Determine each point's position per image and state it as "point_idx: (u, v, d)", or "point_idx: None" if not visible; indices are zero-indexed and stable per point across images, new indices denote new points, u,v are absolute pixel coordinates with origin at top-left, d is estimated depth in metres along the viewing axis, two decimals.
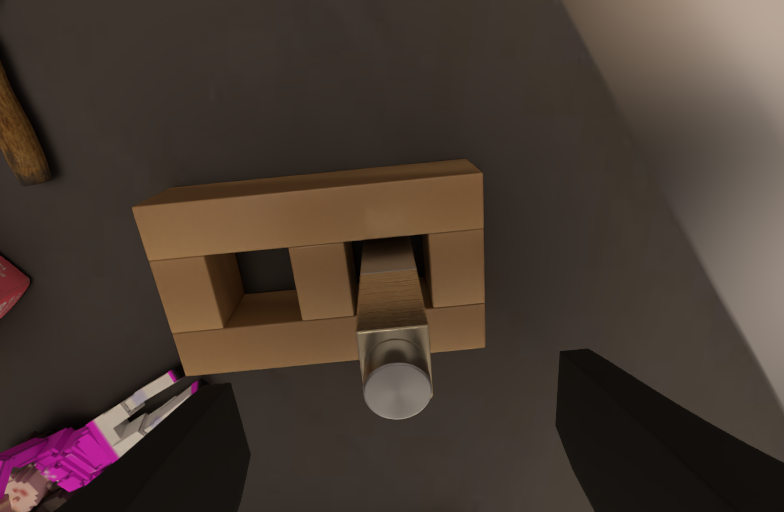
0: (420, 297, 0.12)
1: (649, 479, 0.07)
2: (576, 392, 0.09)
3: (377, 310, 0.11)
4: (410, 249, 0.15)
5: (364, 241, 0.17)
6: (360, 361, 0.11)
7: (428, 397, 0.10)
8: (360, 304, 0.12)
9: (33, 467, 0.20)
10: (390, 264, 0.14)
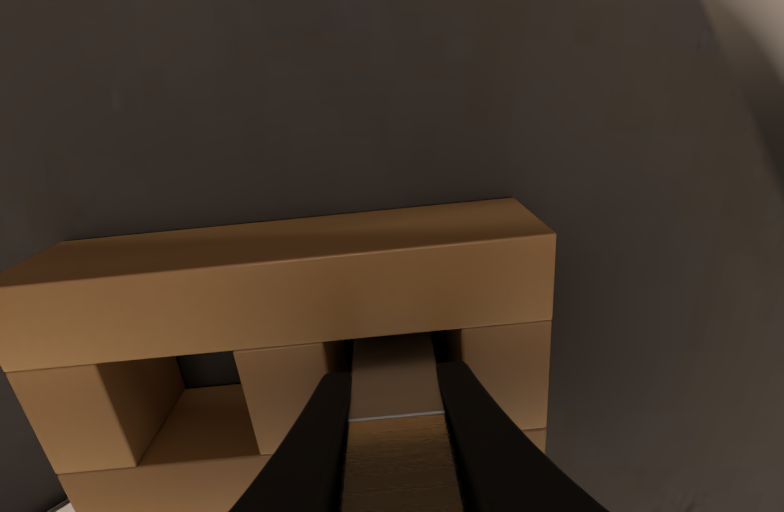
0: None
1: (472, 496, 0.07)
2: None
3: None
4: (431, 356, 0.09)
5: None
6: None
7: None
8: None
9: None
10: (399, 396, 0.08)
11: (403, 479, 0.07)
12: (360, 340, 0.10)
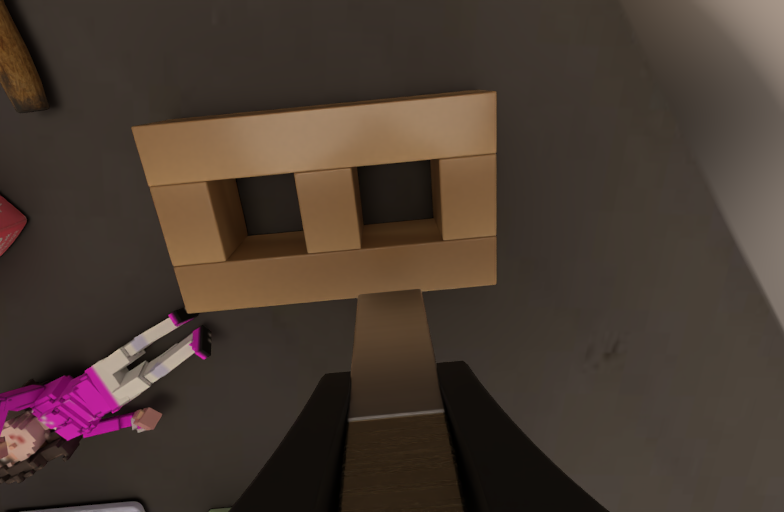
0: None
1: (472, 496, 0.07)
2: None
3: None
4: (431, 355, 0.09)
5: (356, 330, 0.11)
6: None
7: None
8: None
9: (30, 415, 0.20)
10: (399, 395, 0.08)
11: (403, 478, 0.07)
12: (360, 339, 0.10)
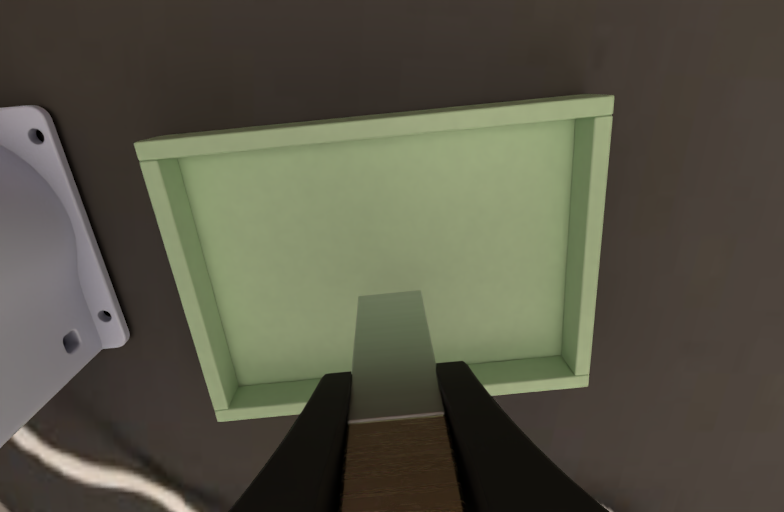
0: None
1: (472, 496, 0.07)
2: None
3: None
4: (431, 357, 0.09)
5: (357, 332, 0.11)
6: None
7: None
8: None
9: None
10: (399, 398, 0.08)
11: (403, 481, 0.07)
12: (360, 341, 0.10)
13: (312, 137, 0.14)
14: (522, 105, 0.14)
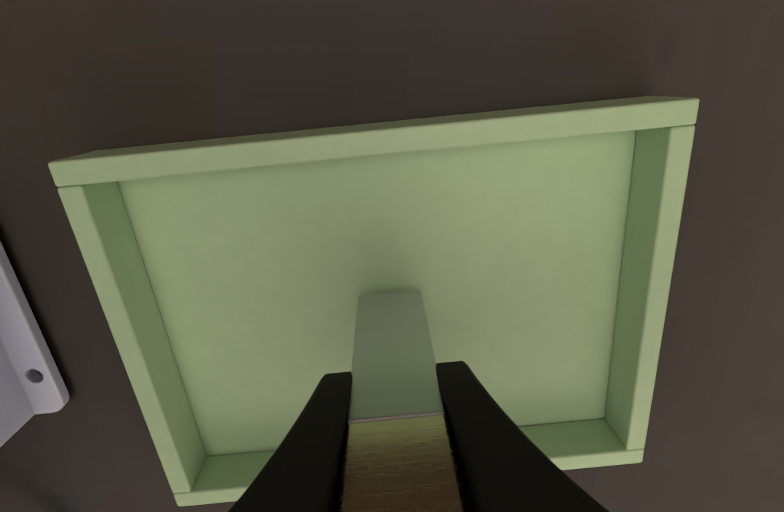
0: None
1: (471, 496, 0.07)
2: None
3: None
4: (431, 357, 0.09)
5: (357, 332, 0.11)
6: None
7: None
8: None
9: None
10: (400, 398, 0.08)
11: (403, 480, 0.07)
12: (360, 341, 0.10)
13: (290, 155, 0.10)
14: (574, 111, 0.10)
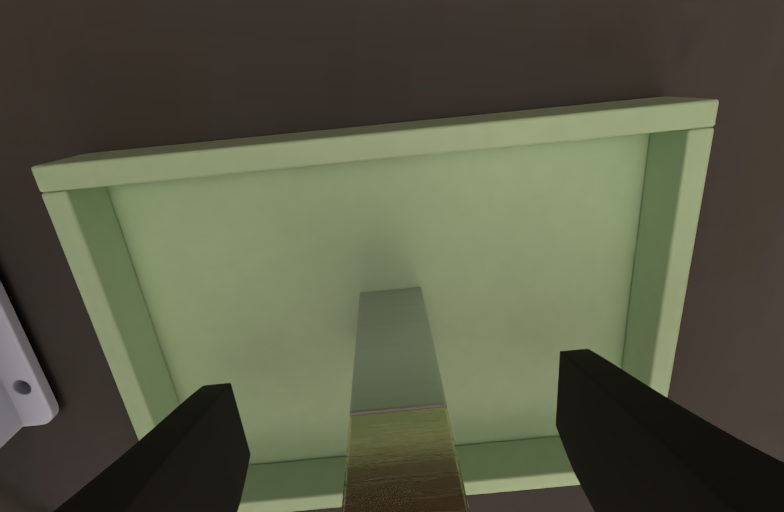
0: (463, 504, 0.06)
1: (649, 479, 0.07)
2: (576, 392, 0.09)
3: None
4: (432, 352, 0.10)
5: (358, 327, 0.11)
6: None
7: None
8: None
9: None
10: (401, 390, 0.08)
11: (405, 469, 0.07)
12: (362, 336, 0.10)
13: (286, 159, 0.10)
14: (586, 113, 0.10)
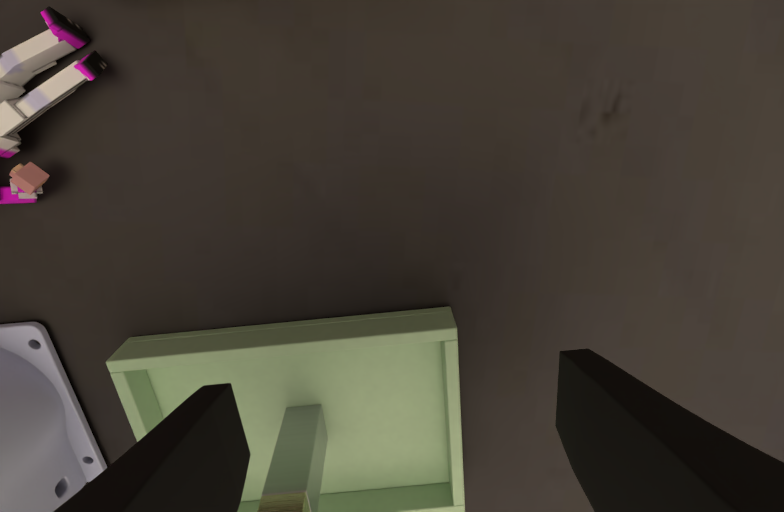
0: None
1: (649, 479, 0.07)
2: (576, 392, 0.09)
3: None
4: (310, 456, 0.19)
5: (278, 437, 0.20)
6: None
7: None
8: None
9: None
10: (288, 482, 0.18)
11: None
12: (278, 444, 0.20)
13: (236, 357, 0.19)
14: (389, 334, 0.19)
